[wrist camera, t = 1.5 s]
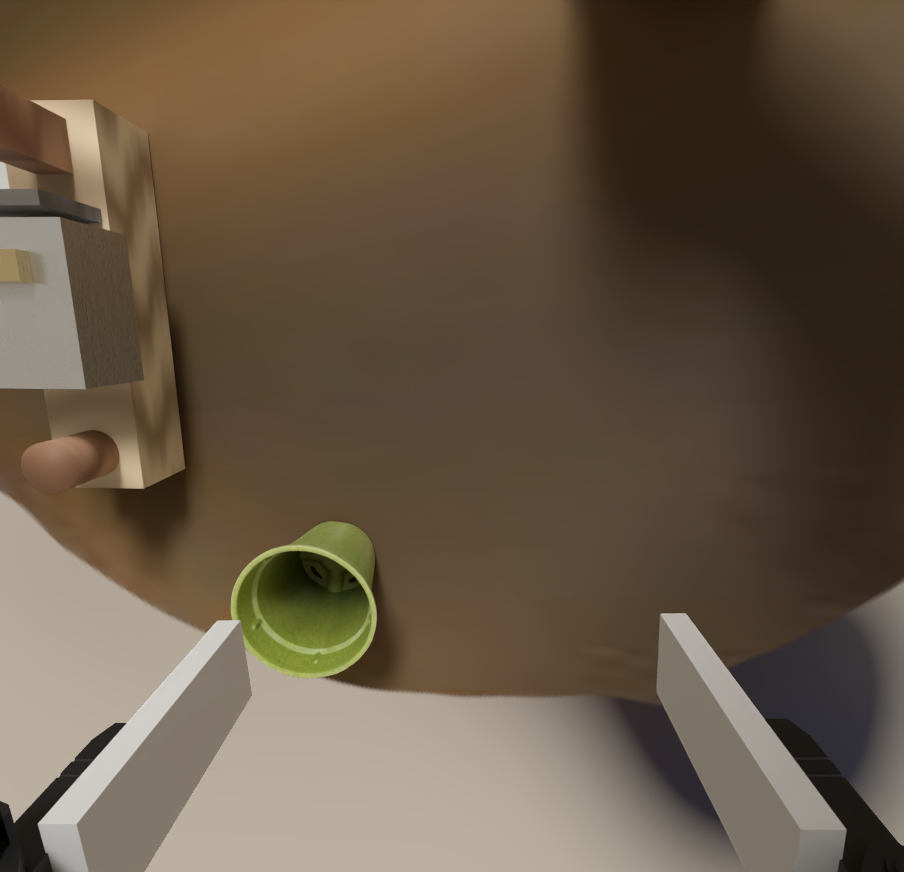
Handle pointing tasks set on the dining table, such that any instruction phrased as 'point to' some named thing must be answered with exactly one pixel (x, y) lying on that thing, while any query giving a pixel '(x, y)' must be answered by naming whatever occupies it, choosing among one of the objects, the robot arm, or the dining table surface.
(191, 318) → the dining table surface
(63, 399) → the hand plane
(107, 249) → the lever cap
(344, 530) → the plant pot
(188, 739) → the robot arm
